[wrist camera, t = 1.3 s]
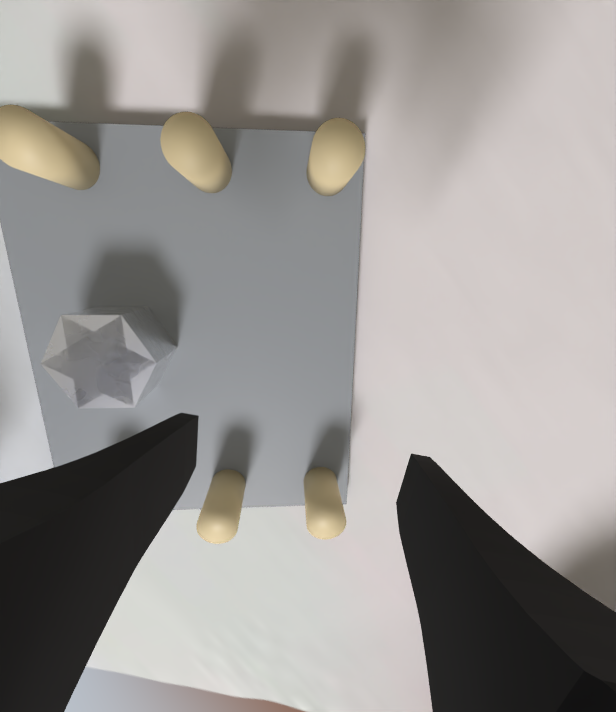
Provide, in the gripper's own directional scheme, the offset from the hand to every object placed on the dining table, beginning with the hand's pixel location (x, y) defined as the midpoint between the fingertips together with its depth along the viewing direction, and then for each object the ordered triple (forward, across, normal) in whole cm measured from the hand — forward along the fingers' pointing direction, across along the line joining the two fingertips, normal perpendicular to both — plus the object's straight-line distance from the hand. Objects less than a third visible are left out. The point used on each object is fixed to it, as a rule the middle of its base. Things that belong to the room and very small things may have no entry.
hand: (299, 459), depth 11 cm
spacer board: (+11, +8, 0) cm, 13 cm away
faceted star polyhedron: (+9, +12, +1) cm, 15 cm away
